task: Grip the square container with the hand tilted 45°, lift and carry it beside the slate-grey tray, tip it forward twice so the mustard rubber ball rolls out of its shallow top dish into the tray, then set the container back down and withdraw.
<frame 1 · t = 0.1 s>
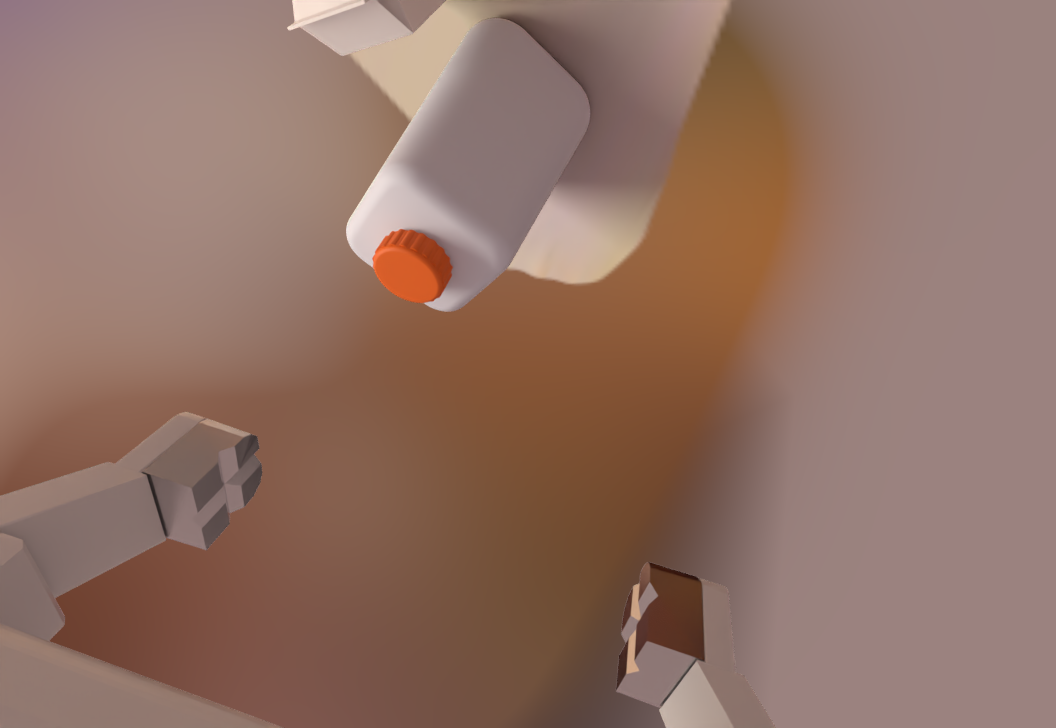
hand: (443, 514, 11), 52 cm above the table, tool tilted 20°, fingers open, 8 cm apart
plastic bottle: (512, 104, 59), on the table
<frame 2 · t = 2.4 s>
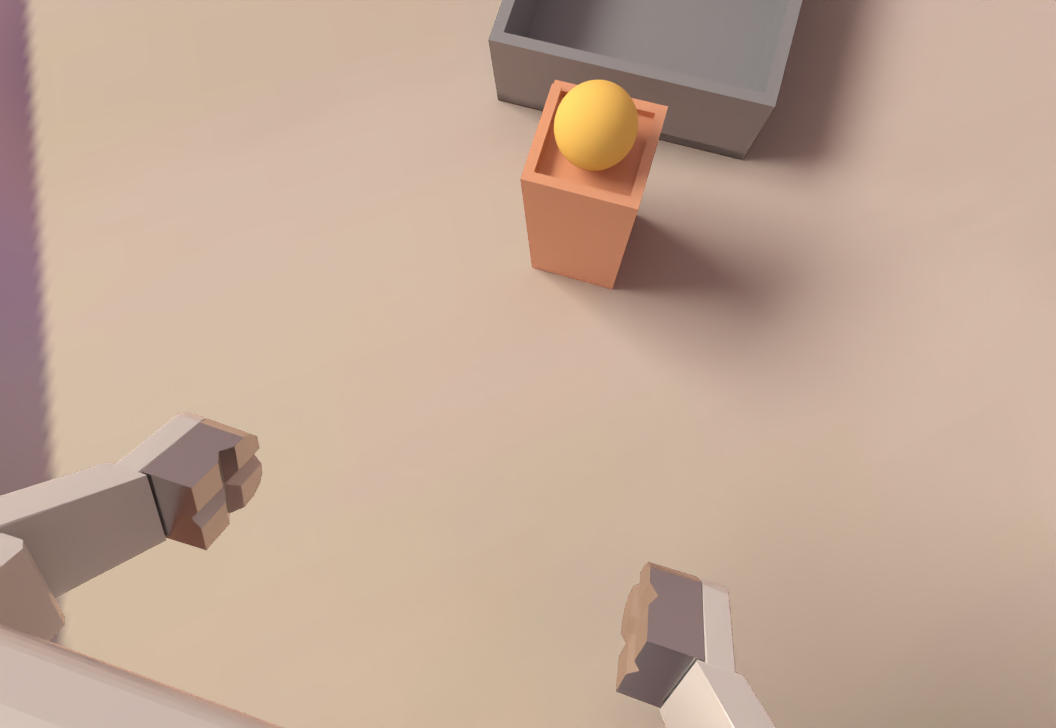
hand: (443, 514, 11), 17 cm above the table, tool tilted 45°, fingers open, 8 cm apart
square container: (583, 240, 30), on the table, touching ball
tray: (650, 22, 32), on the table
ball: (595, 126, 20), point 10 cm above the table, touching square container
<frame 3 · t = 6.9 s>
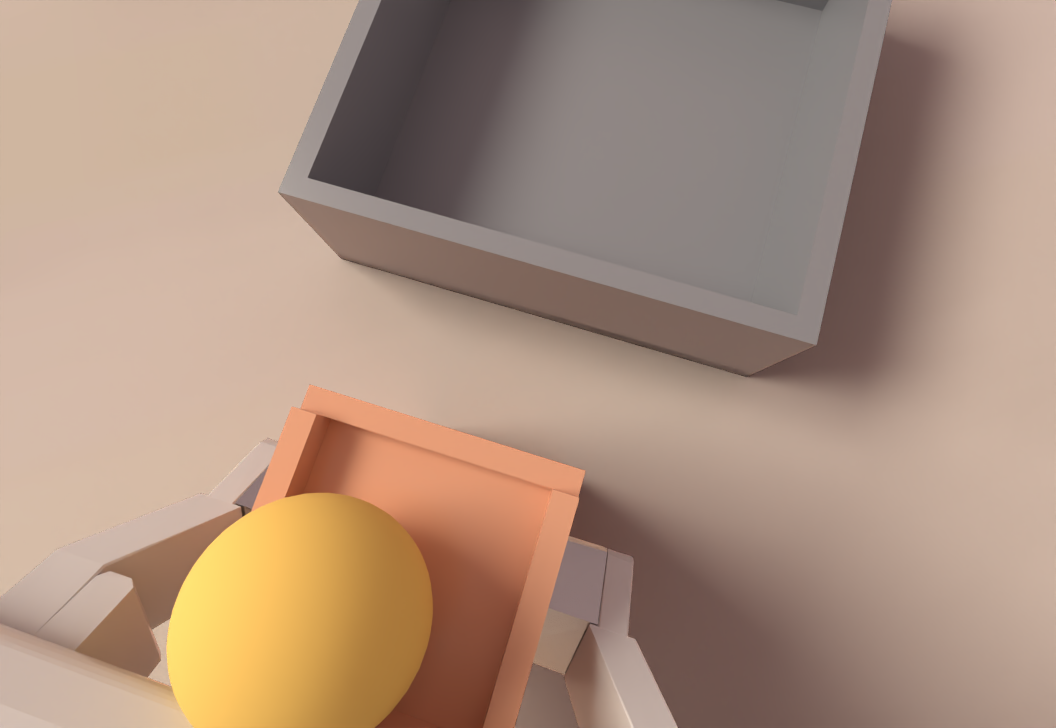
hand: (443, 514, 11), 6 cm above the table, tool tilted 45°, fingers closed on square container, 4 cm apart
square container: (472, 518, 17), on the table, touching ball, gripper
tray: (595, 132, 20), on the table
ball: (310, 616, 7), point 10 cm above the table, tilted 30°, touching square container
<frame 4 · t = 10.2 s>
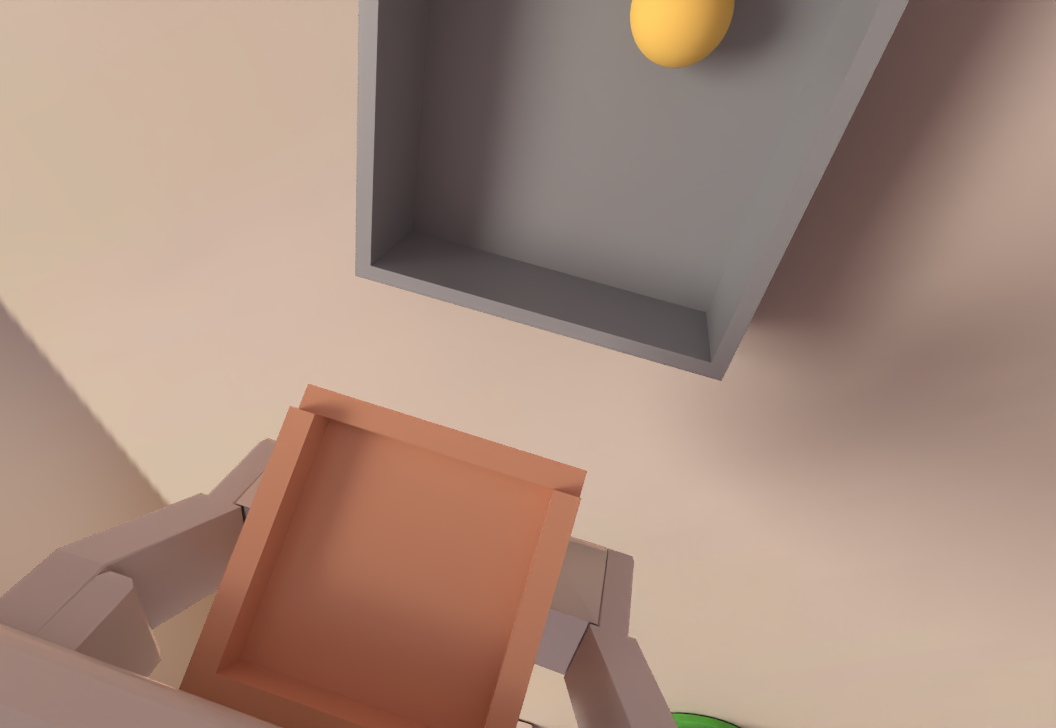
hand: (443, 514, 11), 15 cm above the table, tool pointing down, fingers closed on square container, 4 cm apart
square container: (471, 519, 17), point 11 cm above the table, tilted 45°, touching gripper
tray: (597, 105, 20), on the table
ball: (680, 11, 16), point 2 cm above the table, tilted 13°, touching tray
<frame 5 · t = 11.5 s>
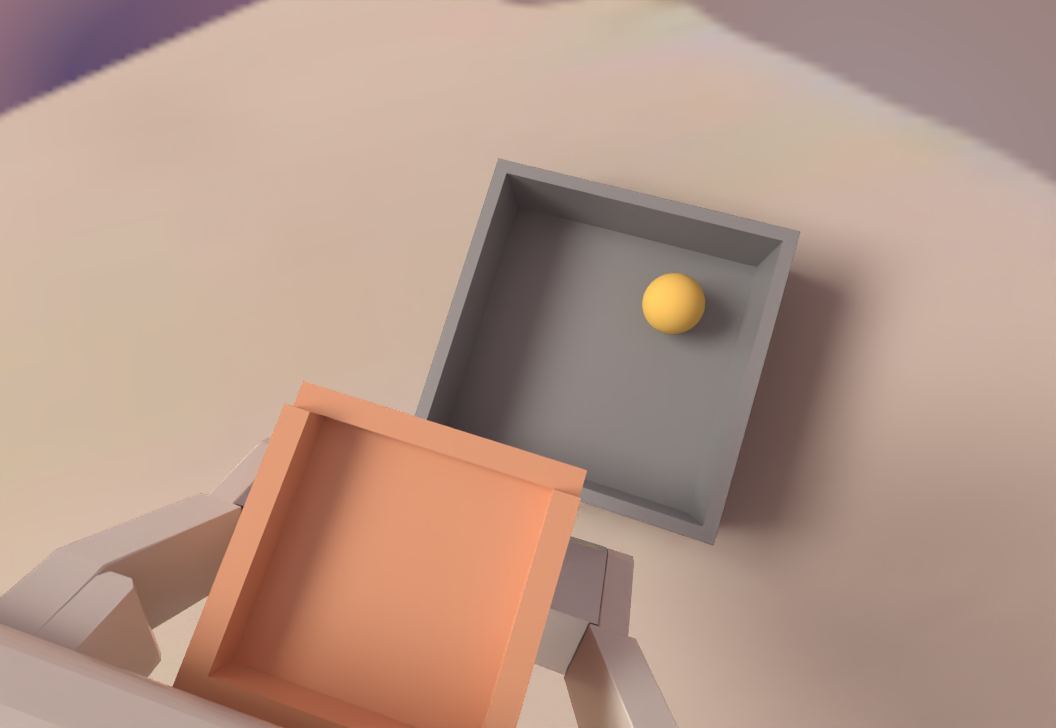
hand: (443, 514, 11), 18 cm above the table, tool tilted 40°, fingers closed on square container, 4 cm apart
square container: (470, 519, 17), point 12 cm above the table, tilted 7°, touching gripper
tray: (598, 353, 29), on the table
ball: (673, 303, 27), point 2 cm above the table, tilted 33°, touching tray
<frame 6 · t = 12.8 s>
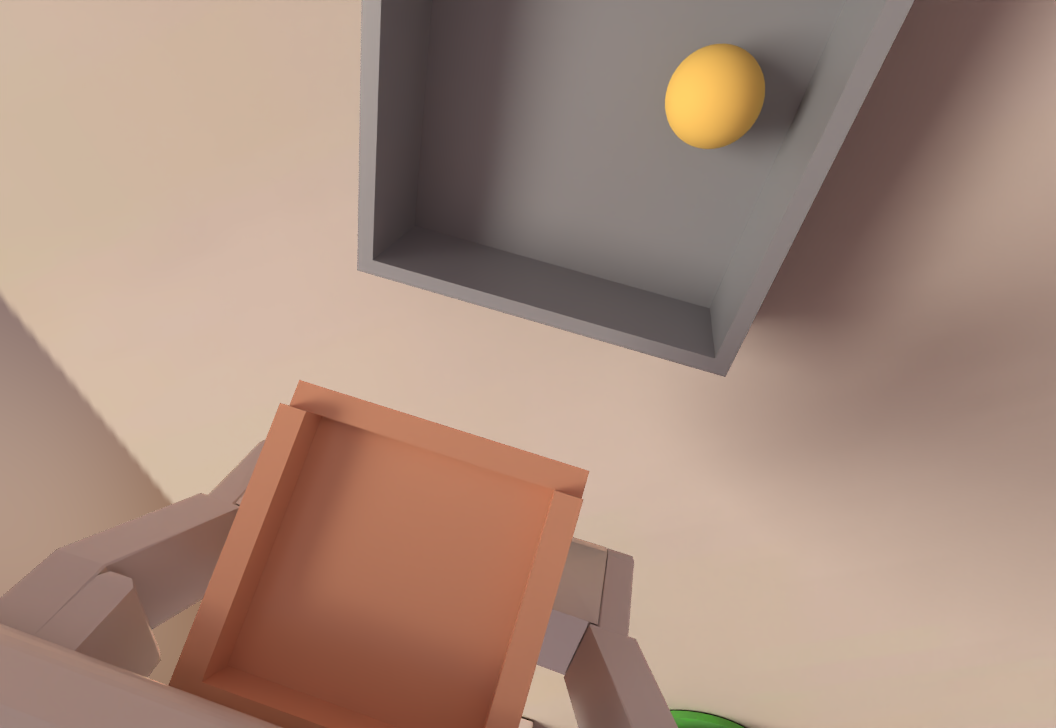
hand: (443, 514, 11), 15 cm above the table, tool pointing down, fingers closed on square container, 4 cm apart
square container: (470, 519, 17), point 11 cm above the table, tilted 45°, touching gripper
tray: (601, 99, 20), on the table
ball: (713, 98, 17), point 2 cm above the table, tilted 83°, touching tray
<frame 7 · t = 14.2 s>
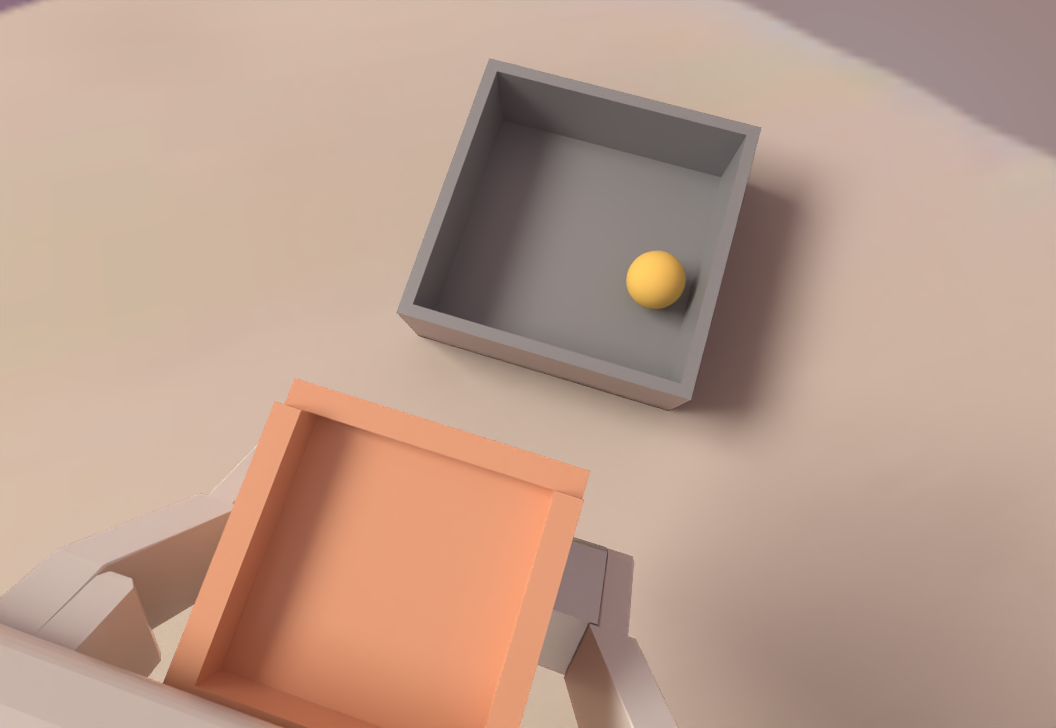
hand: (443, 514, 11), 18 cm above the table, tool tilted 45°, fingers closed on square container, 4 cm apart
square container: (469, 519, 17), point 12 cm above the table, touching gripper
tray: (577, 254, 31), on the table
ball: (655, 280, 28), point 2 cm above the table, tilted 146°, touching tray
when the fingers open (7 cm above the table, at t = 16.4 s): square container drops 2 cm, on the table.
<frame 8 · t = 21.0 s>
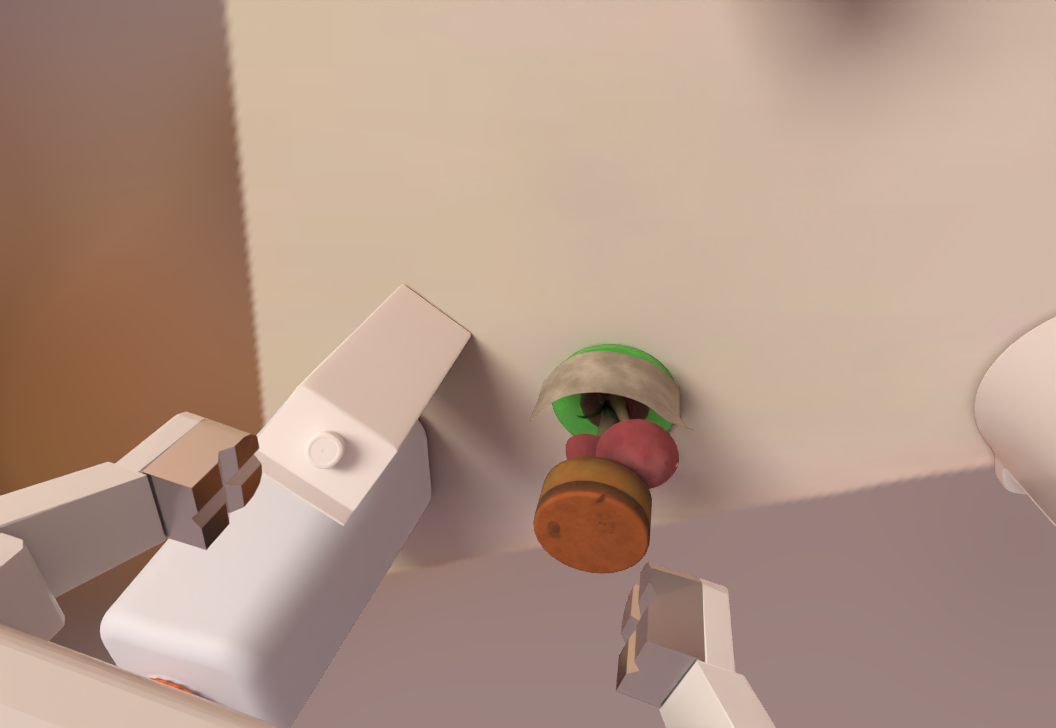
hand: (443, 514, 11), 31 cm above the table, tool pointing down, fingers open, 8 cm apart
milk carton: (420, 334, 48), on the table
plastic bottle: (366, 445, 57), on the table
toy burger: (619, 394, 46), on the table
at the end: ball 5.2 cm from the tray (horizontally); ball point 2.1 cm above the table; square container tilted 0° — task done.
